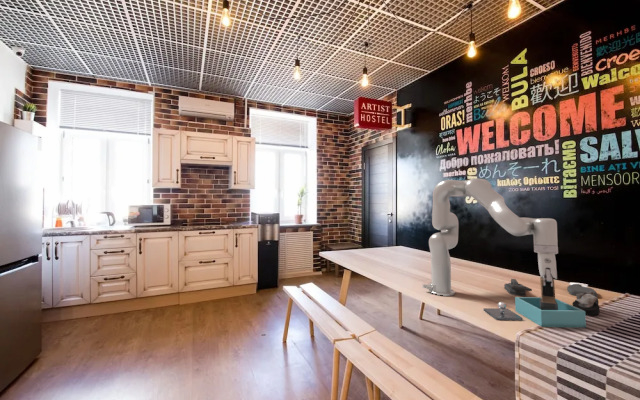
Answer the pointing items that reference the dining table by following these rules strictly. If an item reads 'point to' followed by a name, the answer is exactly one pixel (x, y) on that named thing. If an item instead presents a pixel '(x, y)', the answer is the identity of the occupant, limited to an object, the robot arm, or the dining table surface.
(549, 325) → the bin
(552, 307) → the strut
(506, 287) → the zipper pull
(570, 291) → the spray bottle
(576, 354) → the dining table surface
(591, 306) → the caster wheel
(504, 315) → the base
